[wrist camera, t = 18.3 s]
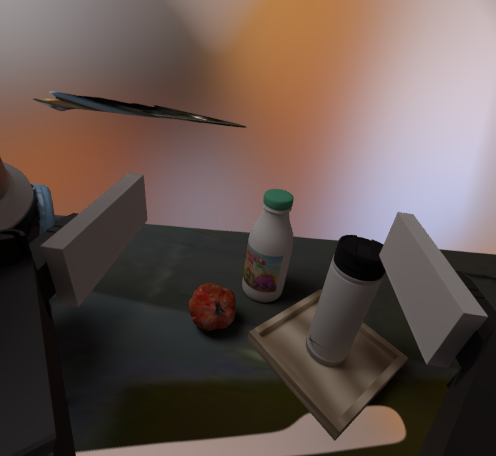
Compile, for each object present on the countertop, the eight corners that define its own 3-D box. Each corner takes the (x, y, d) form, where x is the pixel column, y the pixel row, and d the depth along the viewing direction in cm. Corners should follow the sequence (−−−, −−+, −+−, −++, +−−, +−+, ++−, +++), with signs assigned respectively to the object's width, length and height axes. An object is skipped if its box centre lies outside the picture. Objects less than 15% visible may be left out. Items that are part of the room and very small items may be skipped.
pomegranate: (185, 321, 51) (187, 337, 42) (190, 278, 52) (193, 284, 42) (227, 323, 53) (239, 339, 43) (231, 281, 54) (244, 288, 44)
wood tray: (334, 440, 36) (339, 432, 35) (247, 340, 47) (249, 331, 46) (402, 366, 46) (408, 357, 45) (317, 297, 56) (320, 289, 55)
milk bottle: (260, 269, 61) (275, 180, 51) (290, 290, 57) (313, 197, 47) (233, 287, 56) (244, 191, 46) (264, 311, 52) (284, 211, 42)
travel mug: (301, 360, 44) (337, 251, 33) (308, 326, 49) (341, 223, 38) (344, 376, 42) (397, 267, 32) (347, 339, 48) (392, 236, 37)
